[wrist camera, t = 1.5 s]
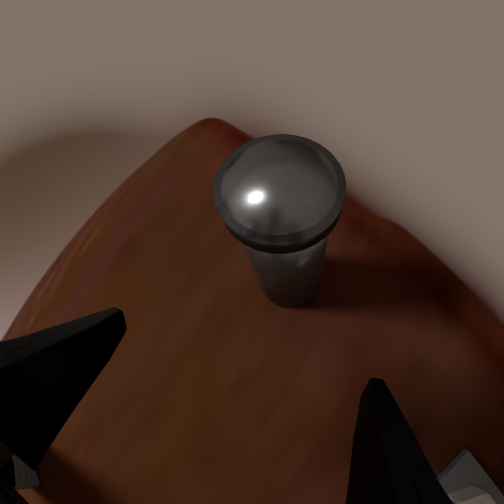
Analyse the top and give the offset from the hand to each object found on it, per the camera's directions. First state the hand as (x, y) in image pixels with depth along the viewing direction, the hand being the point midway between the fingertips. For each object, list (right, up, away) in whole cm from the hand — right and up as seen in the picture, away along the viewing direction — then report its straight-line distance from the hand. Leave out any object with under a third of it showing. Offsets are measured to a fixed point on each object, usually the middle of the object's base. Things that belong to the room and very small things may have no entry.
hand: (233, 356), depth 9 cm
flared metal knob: (+4, +1, +13) cm, 14 cm away
